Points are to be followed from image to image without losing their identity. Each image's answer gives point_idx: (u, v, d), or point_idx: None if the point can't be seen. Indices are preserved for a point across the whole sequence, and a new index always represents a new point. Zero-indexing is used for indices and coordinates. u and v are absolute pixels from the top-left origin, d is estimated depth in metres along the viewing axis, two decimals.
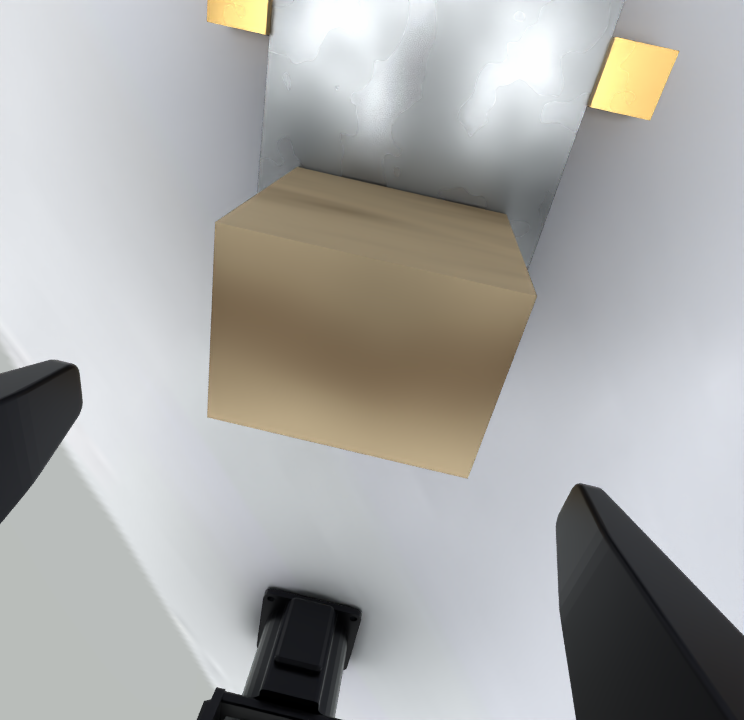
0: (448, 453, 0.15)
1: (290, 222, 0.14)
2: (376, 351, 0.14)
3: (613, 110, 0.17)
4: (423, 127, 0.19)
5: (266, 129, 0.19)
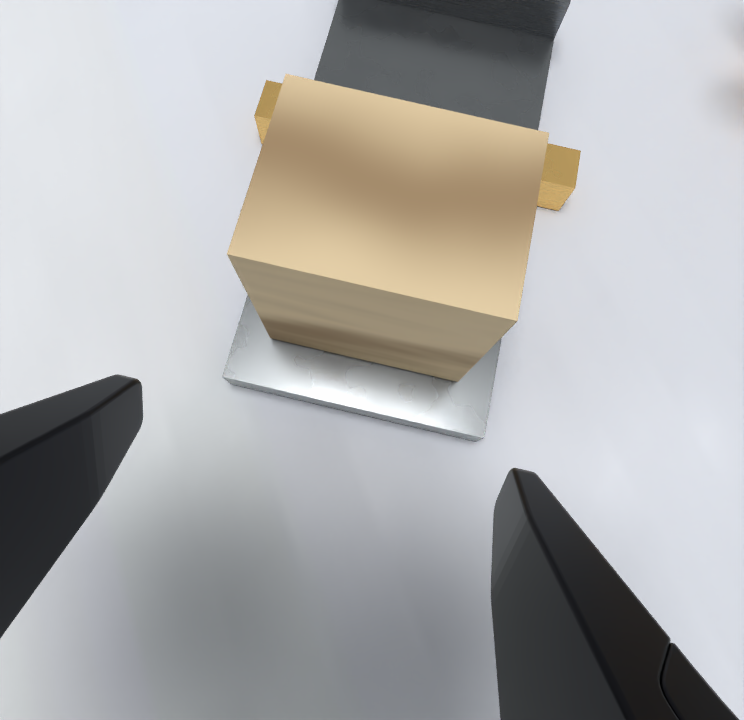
0: (493, 288, 0.14)
1: None
2: (417, 179, 0.15)
3: (548, 180, 0.24)
4: None
5: None
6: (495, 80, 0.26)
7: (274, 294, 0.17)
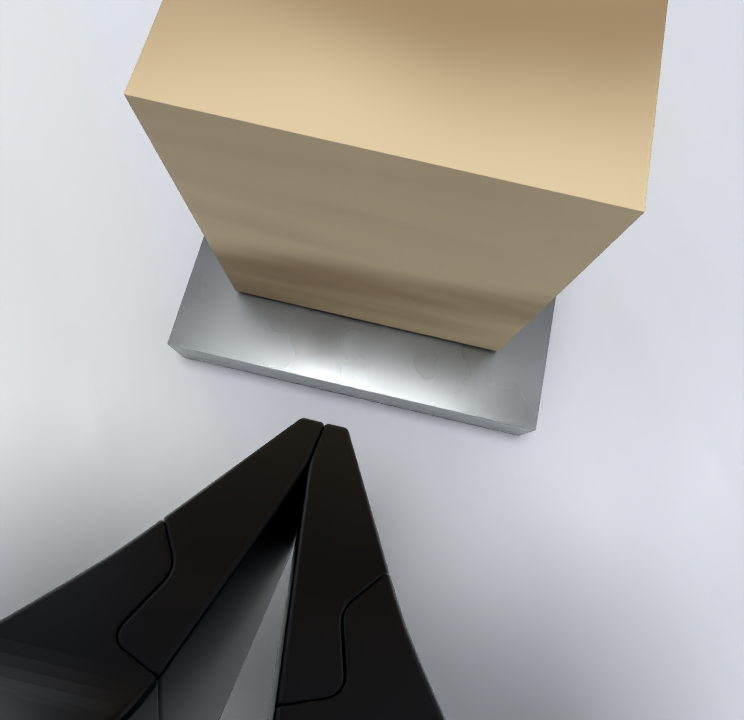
0: (599, 157, 0.08)
1: None
2: None
3: None
4: None
5: None
6: None
7: (223, 195, 0.10)
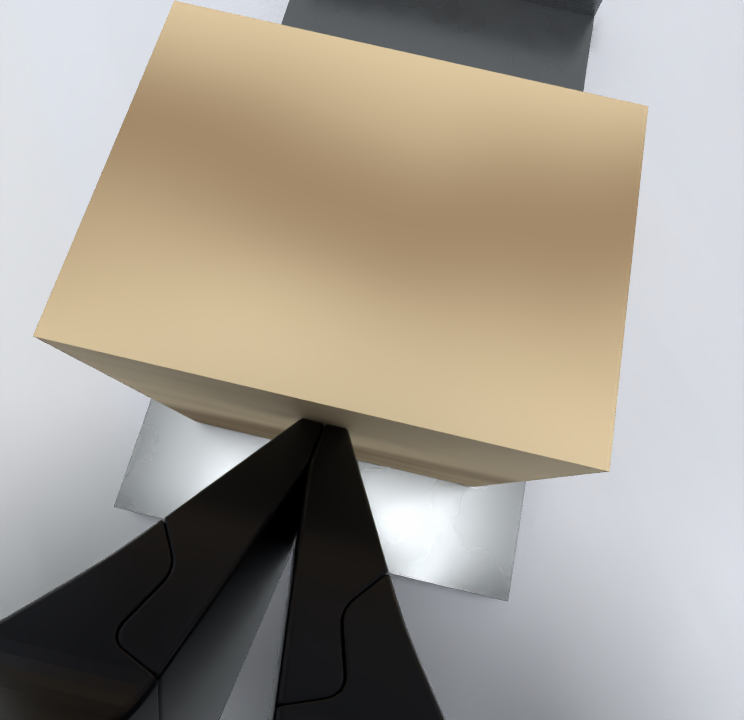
0: (559, 403, 0.07)
1: None
2: (410, 189, 0.08)
3: None
4: None
5: None
6: (516, 71, 0.19)
7: (161, 388, 0.10)
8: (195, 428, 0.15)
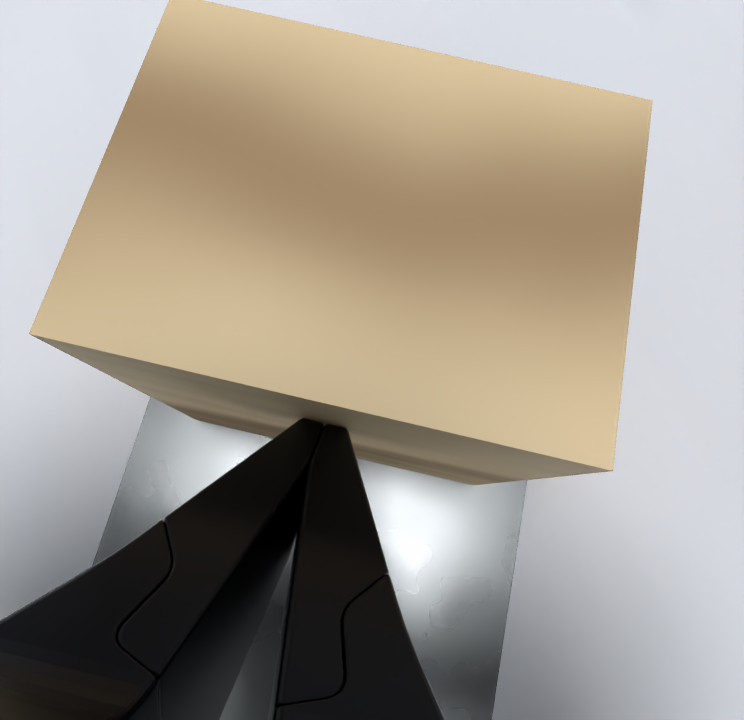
0: (562, 402, 0.07)
1: None
2: (411, 185, 0.08)
3: None
4: None
5: (138, 450, 0.15)
6: None
7: (160, 386, 0.09)
8: None
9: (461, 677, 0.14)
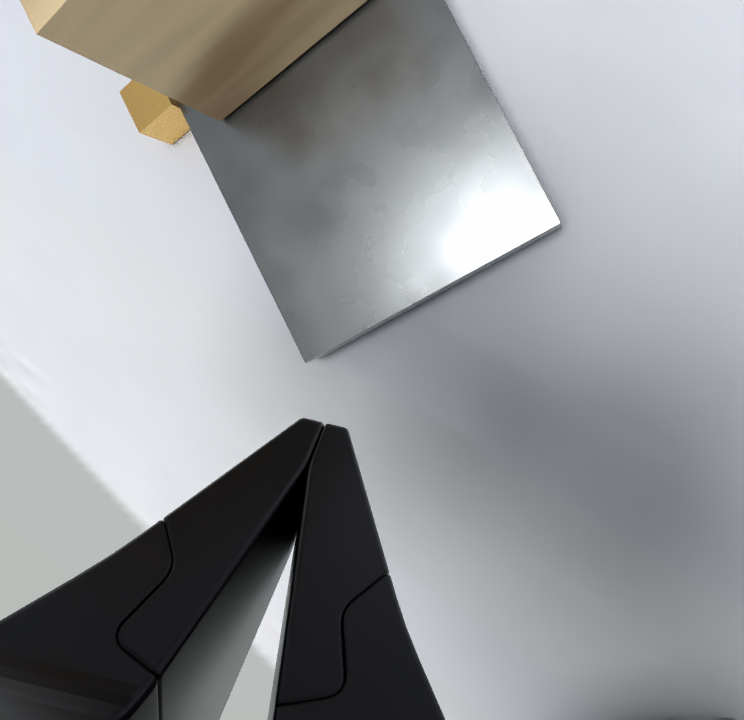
0: None
1: None
2: None
3: None
4: (305, 56, 0.20)
5: (213, 168, 0.22)
6: None
7: (130, 48, 0.16)
8: (306, 290, 0.21)
9: (463, 100, 0.18)
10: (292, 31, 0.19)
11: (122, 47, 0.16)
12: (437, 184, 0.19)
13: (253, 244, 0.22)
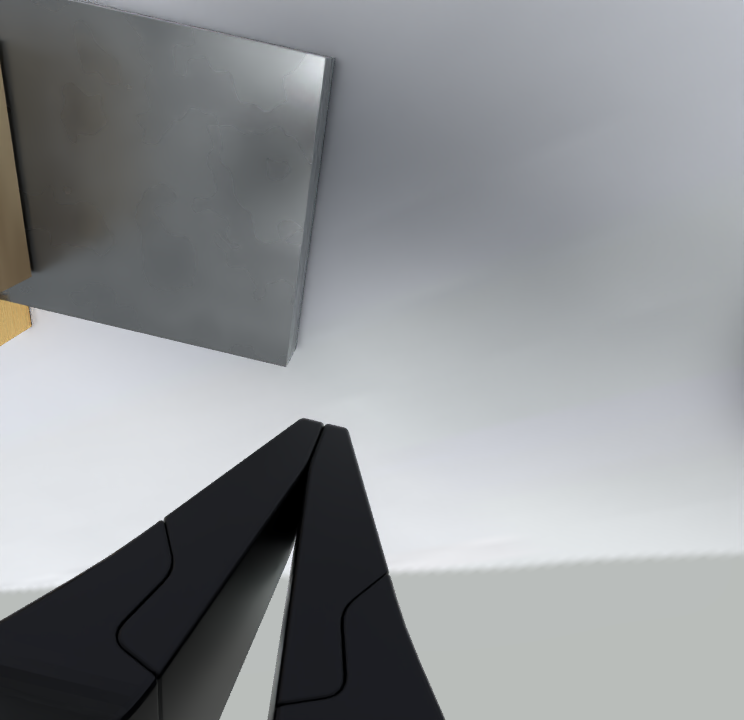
0: None
1: None
2: None
3: None
4: (19, 162, 0.19)
5: (70, 312, 0.21)
6: None
7: None
8: (226, 319, 0.21)
9: (151, 54, 0.16)
10: None
11: None
12: (212, 140, 0.17)
13: (157, 330, 0.21)
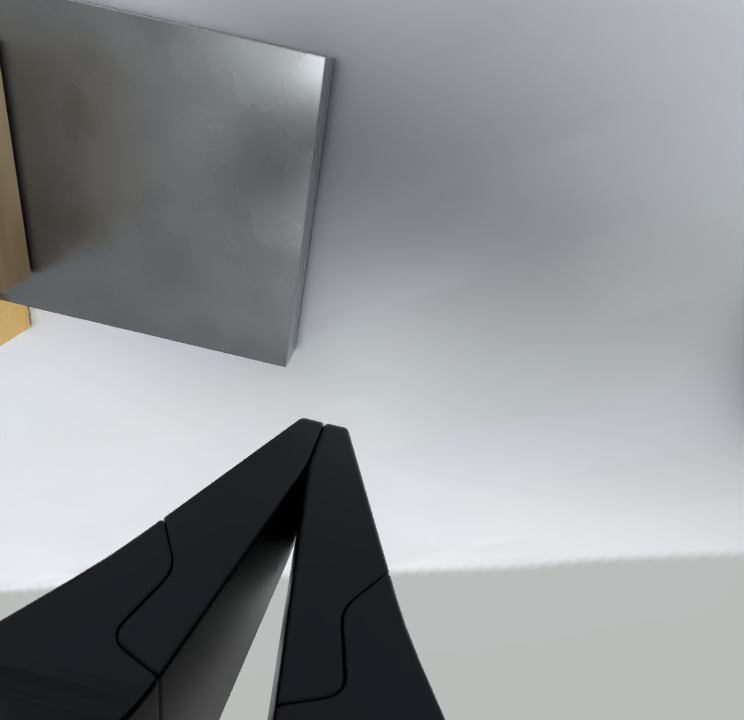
0: None
1: None
2: None
3: None
4: (19, 162, 0.19)
5: (69, 312, 0.21)
6: None
7: None
8: (226, 320, 0.21)
9: (151, 54, 0.16)
10: None
11: None
12: (212, 140, 0.17)
13: (157, 330, 0.21)
